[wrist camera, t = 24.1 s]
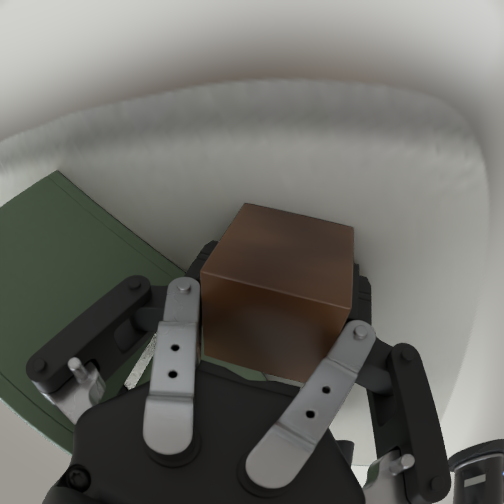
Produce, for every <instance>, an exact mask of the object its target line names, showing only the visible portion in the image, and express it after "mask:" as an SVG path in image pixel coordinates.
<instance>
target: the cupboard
mask: <svg viewBox="0 0 504 504" xmlns="http://www.w3.org/2000/svg"><path fill="white" fill-rule="evenodd" d="M185 274H186V273H185V272H184V271H182V270H181V269H180V268H178V267H177V266H175V265H174V264H173V263H171V262H170V261H169V260H167V259H166V258H165V257H163V256H162V255H161V254H160V253H158V252H157V251H156V250H154V249H153V248H152V247H150V246H149V245H148V244H146V243H145V242H144V241H143V240H141V239H140V238H139V237H137V236H136V235H135V234H134V233H132V232H131V231H130V230H129V229H127V228H126V227H125V226H123V225H122V224H121V223H120V222H118V221H117V220H116V219H115V218H113V217H112V216H111V215H110V214H108V213H107V212H106V211H105V210H104V209H102V208H101V207H100V206H99V205H97V204H96V203H95V202H94V201H93V200H91V199H90V198H89V197H88V196H87V195H85V194H84V193H83V192H82V191H81V190H79V189H78V188H77V187H76V186H75V185H73V184H72V183H71V182H70V181H69V180H68V179H66V178H65V177H64V176H63V175H62V174H61V173H59V172H58V171H57V170H56V171H54V172H53V173H51V174H50V175H48V176H46V177H45V178H43V179H41V180H40V181H38V182H37V183H35V184H34V185H32V186H31V187H29V188H28V189H26V190H25V191H23V192H22V193H20V194H19V195H17V196H16V197H14V198H13V199H11V200H10V201H9V202H7V203H6V204H4V205H3V206H2V207H0V401H1V402H3V403H4V404H5V405H6V406H7V407H8V408H9V409H10V410H11V411H13V412H14V413H15V414H16V415H17V416H19V418H21V419H22V420H23V421H24V422H26V423H27V424H28V425H29V426H30V427H32V428H33V429H34V430H35V431H37V432H38V433H39V434H41V435H42V436H43V437H44V438H46V439H47V440H48V441H50V442H51V443H53V444H54V445H55V446H57V447H58V448H60V449H61V450H62V451H64V452H65V453H67V454H68V455H70V456H72V453H73V432H74V427H75V425H74V424H73V423H72V422H71V421H70V420H69V418H68V417H67V416H66V415H65V414H64V413H62V412H60V411H59V410H58V409H57V408H56V407H55V406H54V405H53V404H51V403H50V402H49V401H48V400H47V399H46V398H45V397H44V396H43V395H42V394H41V393H40V391H39V390H38V389H37V388H36V386H35V384H34V383H33V382H32V381H31V380H30V379H29V377H28V376H27V374H26V364H27V362H28V360H29V358H30V357H31V356H32V355H33V354H35V353H36V352H37V351H38V350H39V349H40V348H41V347H43V346H44V345H45V344H46V343H47V342H48V341H49V340H51V339H52V338H53V337H54V336H55V335H57V334H58V333H59V332H60V331H61V330H62V329H64V328H65V327H66V326H67V325H68V324H70V323H71V322H72V321H73V320H74V319H76V318H77V317H78V316H79V315H80V314H82V313H83V312H84V311H85V310H86V309H88V308H89V307H90V306H91V305H93V304H94V303H95V302H96V301H98V300H99V299H100V298H101V297H103V296H104V295H105V294H106V293H108V292H109V291H110V290H111V289H113V288H114V287H115V286H116V285H118V284H119V283H120V282H121V281H123V280H124V279H125V278H127V277H129V276H133V275H142V276H145V277H146V278H148V279H149V281H150V284H151V285H155V286H168V285H169V284H170V283H171V282H172V281H173V280H174V279H177V278H180V277H184V275H185ZM153 336H154V335H153ZM153 336H152V337H153ZM152 337H150V338H149V339H148V340H147V341H146V342H145V343H144V344H143V345H142V346H141V347H140V348H139V349H138V350H137V351H136V352H135V353H134V354H133V355H132V356H131V357H130V358H129V359H128V360H127V361H126V362H125V363H124V364H123V365H122V366H121V367H120V368H119V369H118V370H117V371H116V372H115V373H114V374H113V375H112V376H111V377H110V378H109V379H108V380H107V381H106V382H105V392H104V394H103V396H102V399H101V400H100V401H99V403H102V402H104V401H106V400H108V399H111V398H113V397H115V396H117V394H118V393H119V391H120V389H121V388H122V386H123V384H124V383H125V381H126V379H127V378H128V376H129V374H130V373H131V371H132V370H133V368H134V366H135V365H136V363H137V361H138V360H139V358H140V356H141V355H142V353H143V352H144V350H145V348H146V347H147V345H148V344H149V342H150V340H151V339H152ZM99 403H98V404H99Z"/></svg>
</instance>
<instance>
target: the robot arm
mask: <svg viewBox="0 0 504 504" xmlns="http://www.w3.org/2000/svg"><path fill="white" fill-rule="evenodd" d="M218 243H219V242H218V241H211V242H210V243H208V244H207V245H205V246H204V248H203V249H202V250H201V252H200V253H199V255H198V256H197V259H195V261H194V262H193V263H192V265H191V266H190V268H189V269H188V271H187V272H186V274H185V275H184V277H180V278H177V279H174V280H173V281H172V282H171V283H170V284H169V285H168V286H155V285H151V284H150V281H149V279H148V278H146V277H145V276H142V275H133V276H129V277H127V278H125V279H124V280H123V281H121V282H120V283H119V284H118V285H116V286H115V287H114V288H113V289H111V290H110V291H109V292H108V293H106V294H105V295H104V296H103V297H101V298H100V299H99V300H98V301H96V302H95V303H94V304H93V305H91V306H90V307H89V308H88V309H86V310H85V311H84V312H83V313H82V314H80V315H79V316H78V317H77V318H76V319H74V320H73V321H72V322H71V323H70V324H68V325H67V326H66V327H65V328H64V329H62V330H61V331H60V332H59V333H58V334H57V335H55V336H54V337H53V338H52V339H51V340H49V341H48V342H47V343H46V344H45V345H44V346H43V347H41V348H40V349H39V350H38V351H37V352H36V353H35V354H33V355H32V356H31V357H30V358H29V360H28V362H27V364H26V374H27V376H28V377H29V379H30V380H31V381H32V382H33V383H34V384H35V386H36V388H37V389H38V390H39V391H40V393H41V394H42V395H43V396H44V397H45V398H46V399H47V400H48V401H49V402H50V403H51V404H53V405H54V406H55V407H56V408H57V409H58V410H59V411H60V412H62V413H64V414H65V415H66V416H67V417H68V418H69V420H70V421H71V422H72V423H73V424H74V425H75V427H74V432H73V453H72V458H71V462H70V465H69V467H68V469H67V470H66V472H65V473H64V474H63V475H62V477H61V478H60V479H59V480H58V481H57V482H56V483H55V484H54V485H53V486H52V487H51V488H50V490H49V492H48V493H47V495H46V497H45V499H44V501H43V503H42V504H432V503H435V502H438V501H440V500H442V499H444V498H445V497H446V496H447V494H448V493H449V491H450V488H451V476H450V470H449V465H448V460H447V455H446V450H445V445H444V440H443V436H442V432H441V427H440V423H439V419H438V415H437V412H436V408H435V404H434V400H433V397H432V393H431V390H430V386H429V383H428V379H427V376H426V373H425V370H424V367H423V363H422V360H421V357H420V354H419V353H418V351H417V350H416V349H415V348H414V347H413V346H411V345H410V344H407V343H399V344H396V345H395V346H394V347H392V346H390V345H388V344H386V343H384V342H382V341H381V340H379V339H378V338H377V337H376V333H375V330H374V329H373V327H372V326H371V285H370V283H369V281H368V279H367V277H363V276H359V264H355V263H353V287H352V307H351V311H350V313H349V315H348V317H347V320H346V322H345V324H344V326H343V328H342V331H341V333H340V335H339V337H338V338H337V340H336V342H335V343H334V345H333V346H332V348H331V349H330V351H329V352H328V354H327V355H326V356H324V358H323V359H322V360H321V362H320V363H319V365H318V366H317V368H316V369H315V370H314V372H313V373H312V375H311V376H310V378H309V379H308V380H307V382H306V383H305V385H304V386H303V387H302V389H301V390H300V387H297V386H293V385H289V384H285V383H281V382H277V381H256V380H247V379H245V378H243V377H241V376H240V375H238V374H236V373H234V372H233V371H231V370H229V369H227V368H226V367H223V366H220V365H216V364H213V363H210V362H207V361H204V360H201V352H202V325H203V324H202V303H201V277H200V270H201V269H202V267H203V266H204V264H205V263H206V261H207V259H208V258H209V256H210V255H211V253H212V252H213V250H214V249H215V247H216V246H217V244H218ZM156 332H157V336H156V343H155V350H154V357H153V364H152V372H151V380H150V381H147V382H145V383H143V384H141V385H139V386H137V387H135V388H133V389H130V390H128V391H126V392H124V393H122V394H119V395H117V396H115V397H113V398H111V399H108V400H106V401H104V402H102V403H99V401H100V400H101V399H102V396H103V394H104V392H105V382H106V381H107V380H108V379H109V378H110V377H111V376H112V375H113V374H114V373H115V372H116V371H117V370H118V369H119V368H120V367H121V366H122V365H123V364H124V363H125V362H126V361H127V360H128V359H129V358H130V357H131V356H132V355H133V354H134V353H135V352H136V351H137V350H138V349H139V348H140V347H141V346H142V345H143V344H144V343H145V342H146V341H147V340H148V339H149V338H150V337H152V336H153V335H154V334H155V333H156ZM354 383H357V384H359V385H361V386H363V387H365V388H366V390H367V396H368V401H369V407H370V413H371V419H372V426H373V432H374V439H375V446H376V454H377V460H376V461H374V462H373V463H372V464H371V465H370V467H369V469H368V472H367V481H366V483H365V485H364V487H363V488H361V486H360V484H359V482H358V480H357V479H356V477H355V475H354V473H353V471H352V470H351V468H350V466H349V464H348V462H347V460H346V459H345V457H344V455H343V453H342V451H341V450H340V448H339V446H338V444H337V442H336V440H335V439H334V437H333V435H332V433H331V431H330V429H329V425H330V424H331V422H332V420H333V419H334V417H335V416H336V414H337V412H338V411H339V409H340V407H341V406H342V404H343V402H344V400H345V399H346V397H347V395H348V393H349V392H350V390H351V388H352V386H353V385H354ZM299 391H300V392H299ZM98 403H99V404H98ZM454 473H455V482H454V497H453V504H503V503H504V453H503V452H491V453H486V454H482V455H479V456H476V457H473V458H470V459H468V460H465V461H463V462H461V463H459V464H458V465H456V466H455V467H454Z"/></svg>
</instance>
